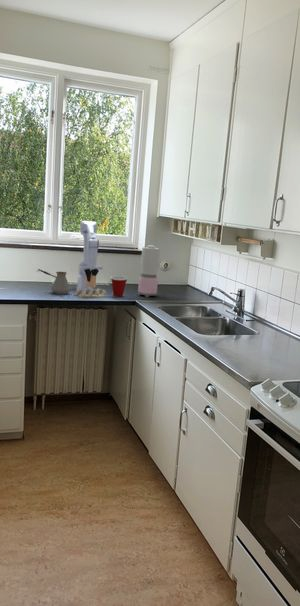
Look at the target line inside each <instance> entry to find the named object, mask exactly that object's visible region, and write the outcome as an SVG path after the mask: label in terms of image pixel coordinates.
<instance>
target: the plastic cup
mask: <svg viewBox="0 0 300 606" xmlns="http://www.w3.org/2000/svg"><path fill="white" fill-rule="evenodd" d="M110 280H111V285H112V286H111V287H112V294H113V297H116V296H117V297H119V298H122V297H123V296H124V291H125V288H126V284H127V280H128V277H127V276H124V275H113V276H110ZM121 296H122V297H121Z"/></svg>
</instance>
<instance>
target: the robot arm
mask: <svg viewBox="0 0 300 606" xmlns="http://www.w3.org/2000/svg"><path fill="white" fill-rule="evenodd" d="M97 228H98V225H97V221H92V220H81V221H80V229H79V230H80V231H79V232H80V234H81V235H82V237H83V260H82V261H81V262H80V263H79V264H78V275H79V276H78V278H77V286H76V289H79V290H82V291H83V289H86V290H89V291H90V288H91V289H92V287H89V286H86V285H85V282H86V276H87V281H88V282H90V277H91V274H92V275H95V276H96V277H97V275H98V274H99V271H100V270H104V269H103V267H104V266H102V265H97V264H98V262H97V261H98V250H99V246H100V241H99V239H98V238H97V234H96V232H97Z"/></svg>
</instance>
